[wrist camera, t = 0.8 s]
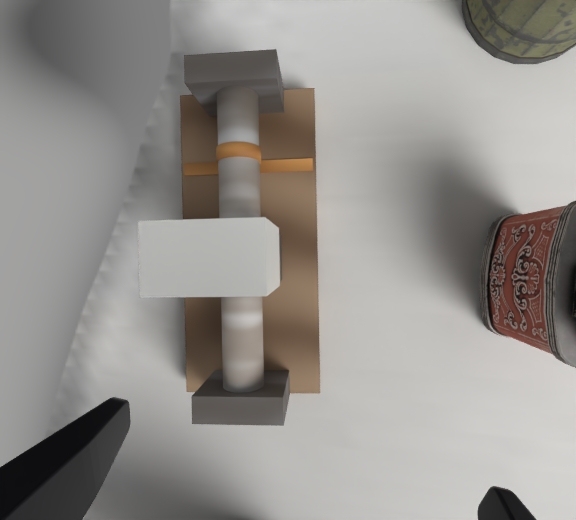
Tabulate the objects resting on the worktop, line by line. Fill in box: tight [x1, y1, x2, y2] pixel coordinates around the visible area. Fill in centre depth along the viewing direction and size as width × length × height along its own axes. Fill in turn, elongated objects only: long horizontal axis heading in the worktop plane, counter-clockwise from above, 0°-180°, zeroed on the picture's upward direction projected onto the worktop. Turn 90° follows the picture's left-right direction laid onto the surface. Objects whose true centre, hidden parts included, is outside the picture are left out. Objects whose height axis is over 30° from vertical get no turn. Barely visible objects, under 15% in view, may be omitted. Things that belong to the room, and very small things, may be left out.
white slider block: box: [138, 217, 282, 298], centre depth 18 cm, size 3×5×9 cm, turn 91°
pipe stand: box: [180, 49, 320, 426], centre depth 22 cm, size 20×9×6 cm, turn 1°
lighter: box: [480, 201, 576, 368], centre depth 19 cm, size 8×3×10 cm, turn 175°
